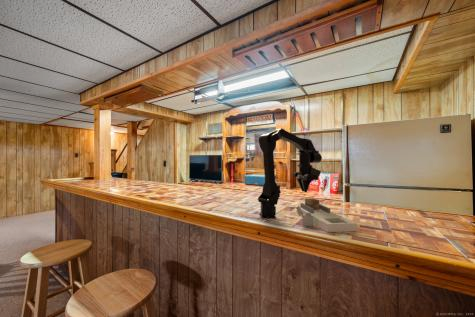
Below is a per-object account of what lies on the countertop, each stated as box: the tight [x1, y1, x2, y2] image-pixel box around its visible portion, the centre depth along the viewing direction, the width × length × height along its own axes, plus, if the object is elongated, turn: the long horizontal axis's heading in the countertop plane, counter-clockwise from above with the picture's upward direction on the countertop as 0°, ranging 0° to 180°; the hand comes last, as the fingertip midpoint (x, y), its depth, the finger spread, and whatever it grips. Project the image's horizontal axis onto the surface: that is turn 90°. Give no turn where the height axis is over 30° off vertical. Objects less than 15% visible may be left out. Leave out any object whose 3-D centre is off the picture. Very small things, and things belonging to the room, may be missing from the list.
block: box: [304, 198, 320, 210], centre depth 102 cm, size 5×5×4 cm
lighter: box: [295, 204, 314, 227], centre depth 86 cm, size 7×2×8 cm, turn 68°
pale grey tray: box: [296, 203, 357, 233], centre depth 92 cm, size 12×28×5 cm, turn 7°
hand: (304, 191), depth 110 cm, fingers open, 3 cm apart
